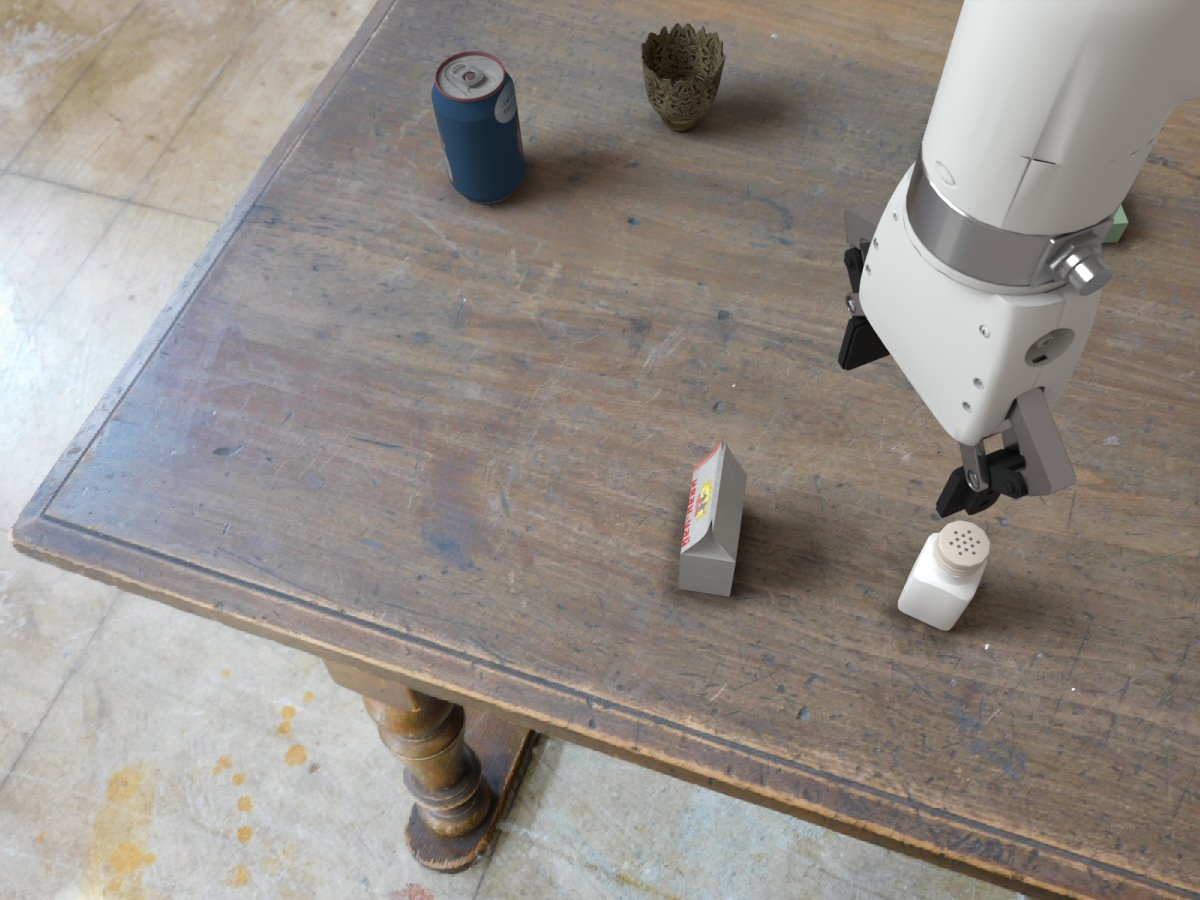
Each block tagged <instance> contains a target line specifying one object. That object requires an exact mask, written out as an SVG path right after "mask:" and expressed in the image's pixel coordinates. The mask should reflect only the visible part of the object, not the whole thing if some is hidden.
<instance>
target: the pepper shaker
mask: <svg viewBox="0 0 1200 900" xmlns="http://www.w3.org/2000/svg"><path fill="white" fill-rule="evenodd" d="M990 552H991V541H990V539H989V537H988V536H987V534H986V531H985V530H984V529H982V528H981V527H980V526H978V525H977V524H975V523H974V522H971V521H965V520H962V519H959V520H956V521H952V522H948V523H947V524H946V525H945V526H944V527H943V528H942V530H941V531H940V532H933V533H931V534H930V535H928V536H927V539H926V541H925V543H924V545H923V547H922V548H921V551H920V552H919V554H918V556H917V558H916V560H915V562H914V564H913V566H912V567H911V570H910V572H909V575H908V577H907V580H905V581H906V582H905V584H904V586H903V587H902V588H903V589H902V591H901V593H900V595H899V598H898V599H897V608H898V610H899V611H900V612H901V613H903V614H905V615H907V616H910V617H912V618H914V619H916V620H918V621H920V622H923V623H925V624H927V625H930V626H932V627H934V628H936V629H938V630H940V631H945V632H948V631H950V630H951V629H952V628H953V627H955V625H956V624H957V622H958V620H959V619H960V617H962V615H963V613H964V612H965V610H966V609H967V607H968V606H969V604H970V603H971V601H972V600H973V598H974V597H975V594H976V592H977V589H978V587H979V585H980V582H981V579H982V577H983V575H984V572H985V569H986V567H987V563H988V557H989V555H990Z"/></svg>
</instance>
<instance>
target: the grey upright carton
mask: <svg viewBox="0 0 1200 900" xmlns="http://www.w3.org/2000/svg"><path fill="white" fill-rule="evenodd" d="M722 448H723V449H722ZM747 479H748V473H747V472H746V471H745V469H744V468H743V467H742V465H741V464H740V463H739V461H738V460H737V458H736V457H735V456H734V454H733V452H731V449H730V448H729V445H728V442H727V441H725V443H724V446H723V447H722V440H720V441H719V442H718V445H717V446H716V447H715V448H714V449H713V450H712V451H711V452H710V453H709V454H708V455H707V456H706V457H704V458H703V459H702V460H701V461H700V462H698V463H697V464H696V465H695V466H694V469H693V473H692V480H691V487H690V493H689V499H688V504H687V511H686V518H685V523H684V530H683V535H682V542H681V549H680V555H679V567H678V568H679V569H678V570H679V571H678V585H677V589H678V590H684V591H691V592H697V593H703V594H708V595H709V594H710V595H716V596H722V597H729V598H730V597H731V590H732V585H733V581H734V573H735V569H736V562H737V555H738V554H737V553H738V549H739V548H738V547H739V539H740V532H741V525H742V517H743V509H744V503H745V494H746V488H747Z"/></svg>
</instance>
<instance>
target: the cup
mask: <svg viewBox="0 0 1200 900" xmlns="http://www.w3.org/2000/svg"><path fill="white" fill-rule="evenodd" d="M706 32H707V31H706V29H705V26H704V25H701V26H700V27H699V28H698V29H697V32H696V30H695V28H693V26H692V25H691V24H690V23H689V22H687V23H685V24H684V26H682V25H681V24H680V23H679V22H676V23H675V24H674V25H673V26H672V28H671V29H670V31H668V26H666V25H664V26H662V27H661V29H660V32H659V34H657V33H655V32H652V31H650V32H649V33H648V34H647V35H646V38H645V40H644V41H645V42H642V43H641V44H640V53H641V68H642V74H643V75H642V76H643V83H644V88H645V93H646V96H647V99H648V102H649V104H650V106H651V107H652V109H653V110H654V112H656V113H657V114H658V116H660V117H661V120H662V122H663V124H664V125H665V126H666V127H667V128H668V129H670V130H673V131H677V132H685V131H689V130H691V129H693V128H694V127H695V126H696V125H697V124H698V123H699V121H700V119H701V117H702V116H704V115H705V114H706V113H707V112H709V110H710V109H711V107H712V106H713V105H714V102H715V101H716V98H717V95H718V91H719V88H720V85H721V79H722V75H723V70H724V65H725V62H726V58H727V55H726V54H725V53H724V41H723V40H720V37H719V34H718V32H717V31H711V32H708V33H706Z"/></svg>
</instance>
